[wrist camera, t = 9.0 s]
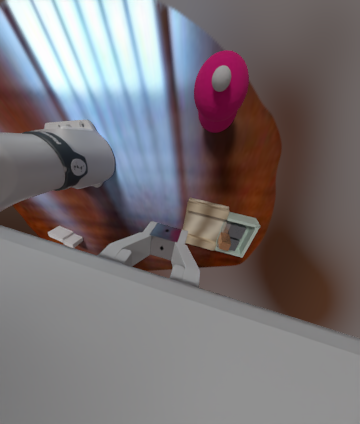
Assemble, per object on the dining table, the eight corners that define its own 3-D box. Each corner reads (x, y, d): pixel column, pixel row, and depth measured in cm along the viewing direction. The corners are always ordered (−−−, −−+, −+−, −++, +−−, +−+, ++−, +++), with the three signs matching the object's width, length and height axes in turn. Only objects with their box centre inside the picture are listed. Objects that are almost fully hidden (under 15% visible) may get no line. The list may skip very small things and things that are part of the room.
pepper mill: (234, 130, 30) (262, 114, 12) (201, 136, 32) (187, 130, 14) (234, 88, 27) (274, -10, 9) (198, 98, 29) (176, 32, 11)
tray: (215, 241, 45) (215, 250, 41) (226, 211, 39) (228, 218, 35) (240, 248, 44) (242, 257, 40) (256, 218, 38) (260, 226, 34)
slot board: (181, 236, 47) (179, 241, 44) (189, 197, 39) (188, 201, 37) (213, 245, 46) (213, 251, 43) (228, 206, 38) (229, 211, 36)
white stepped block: (54, 226, 61) (40, 233, 56) (65, 216, 56) (51, 223, 51) (79, 249, 65) (68, 258, 60) (91, 242, 60) (80, 250, 55)
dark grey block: (225, 229, 41) (226, 235, 38) (230, 219, 39) (231, 224, 36) (238, 233, 40) (240, 239, 38) (244, 222, 38) (246, 228, 36)
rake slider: (215, 240, 43) (215, 257, 37) (223, 217, 38) (225, 232, 32) (222, 242, 43) (223, 259, 36) (232, 219, 38) (235, 234, 32)
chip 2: (221, 241, 43) (221, 247, 40) (225, 231, 41) (225, 237, 38) (233, 244, 42) (234, 251, 40) (238, 234, 40) (239, 241, 38)
